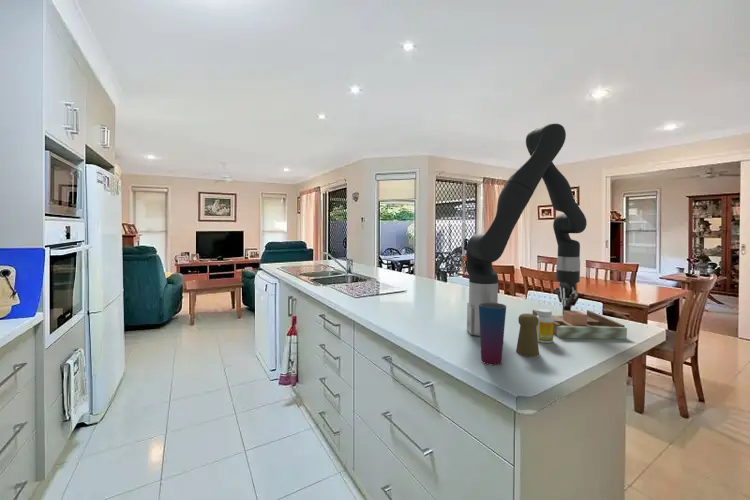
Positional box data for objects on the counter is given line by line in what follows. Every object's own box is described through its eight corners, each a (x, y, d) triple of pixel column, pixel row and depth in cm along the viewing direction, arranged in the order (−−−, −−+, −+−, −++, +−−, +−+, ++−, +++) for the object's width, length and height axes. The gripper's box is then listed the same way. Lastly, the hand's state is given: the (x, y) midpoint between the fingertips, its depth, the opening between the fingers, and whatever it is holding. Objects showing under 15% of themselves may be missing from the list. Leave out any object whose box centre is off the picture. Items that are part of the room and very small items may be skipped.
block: (571, 324, 118) (572, 314, 118) (563, 320, 124) (563, 310, 124) (586, 324, 118) (587, 314, 118) (577, 320, 124) (577, 310, 124)
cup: (473, 356, 94) (474, 302, 93) (498, 356, 95) (499, 302, 94) (483, 366, 87) (485, 308, 86) (509, 365, 88) (511, 307, 87)
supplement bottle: (530, 339, 109) (530, 309, 108) (541, 337, 111) (542, 307, 111) (545, 344, 104) (546, 313, 103) (556, 341, 106) (557, 311, 106)
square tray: (558, 337, 110) (558, 325, 110) (532, 320, 131) (532, 310, 131) (626, 338, 109) (627, 326, 109) (589, 321, 130) (589, 310, 130)
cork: (541, 357, 94) (543, 317, 93) (518, 355, 95) (519, 316, 94) (536, 349, 100) (537, 312, 99) (514, 348, 101) (514, 311, 100)
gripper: (549, 266, 132) (547, 311, 133) (566, 271, 119) (565, 320, 120) (569, 266, 131) (567, 311, 132) (589, 271, 118) (587, 320, 119)
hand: (566, 315), depth 126 cm, fingers closed
